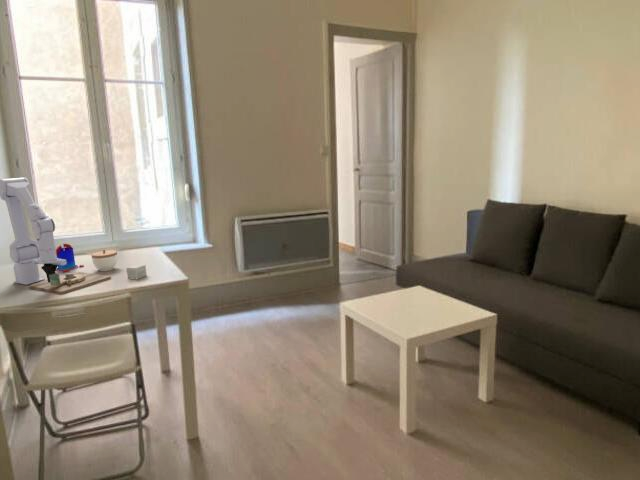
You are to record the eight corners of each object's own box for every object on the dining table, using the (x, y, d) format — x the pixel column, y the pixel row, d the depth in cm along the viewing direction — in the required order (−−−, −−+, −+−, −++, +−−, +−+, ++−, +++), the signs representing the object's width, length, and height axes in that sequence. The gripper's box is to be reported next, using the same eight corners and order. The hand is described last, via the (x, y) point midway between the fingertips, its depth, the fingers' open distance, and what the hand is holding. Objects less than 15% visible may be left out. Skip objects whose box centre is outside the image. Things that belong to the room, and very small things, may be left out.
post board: (28, 287, 187) (26, 278, 186) (78, 273, 206) (76, 265, 205) (62, 294, 177) (60, 284, 176) (111, 278, 196) (109, 269, 195)
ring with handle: (68, 276, 197) (66, 264, 196) (90, 276, 195) (89, 265, 194) (41, 286, 183) (39, 274, 182) (64, 287, 181) (62, 275, 180)
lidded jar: (88, 271, 209) (85, 251, 207) (107, 265, 219) (104, 246, 217) (106, 273, 205) (103, 252, 203) (124, 267, 215) (121, 247, 213)
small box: (137, 274, 200) (135, 264, 199) (147, 275, 198) (145, 264, 197) (127, 278, 195) (125, 267, 194) (137, 279, 193) (136, 268, 192)
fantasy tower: (65, 273, 208) (61, 247, 206) (46, 271, 212) (42, 246, 210) (86, 266, 219) (83, 241, 217) (68, 264, 223) (64, 240, 221)
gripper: (23, 250, 179) (29, 284, 182) (54, 251, 176) (59, 285, 179) (38, 246, 186) (43, 278, 189) (68, 247, 182) (73, 280, 185)
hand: (52, 281), depth 184 cm, fingers closed, pressing on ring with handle
